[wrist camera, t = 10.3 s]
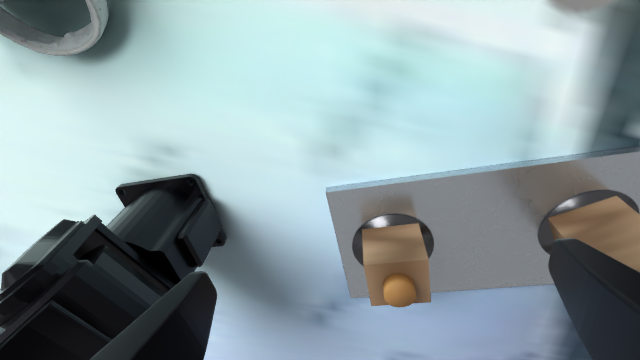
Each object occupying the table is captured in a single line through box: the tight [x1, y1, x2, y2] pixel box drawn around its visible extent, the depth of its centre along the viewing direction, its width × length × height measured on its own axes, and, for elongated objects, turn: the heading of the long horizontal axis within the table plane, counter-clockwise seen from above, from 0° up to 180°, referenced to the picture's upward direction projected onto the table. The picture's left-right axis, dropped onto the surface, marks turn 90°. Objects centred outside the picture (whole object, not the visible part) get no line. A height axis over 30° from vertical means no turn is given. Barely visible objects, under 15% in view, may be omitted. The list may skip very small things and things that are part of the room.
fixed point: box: [362, 223, 431, 307], centre depth 22 cm, size 4×4×4 cm
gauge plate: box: [326, 146, 640, 298], centre depth 23 cm, size 21×11×1 cm, turn 102°
